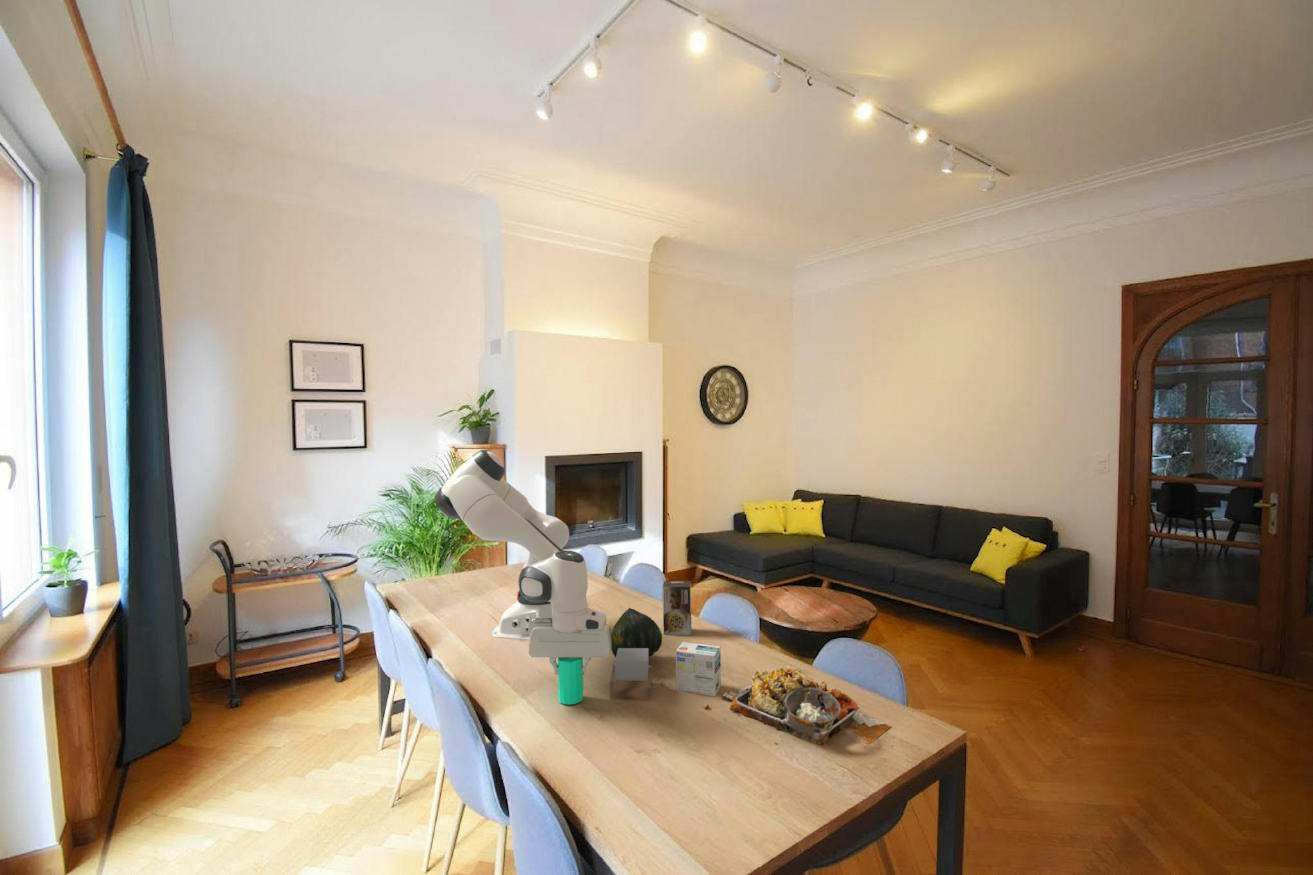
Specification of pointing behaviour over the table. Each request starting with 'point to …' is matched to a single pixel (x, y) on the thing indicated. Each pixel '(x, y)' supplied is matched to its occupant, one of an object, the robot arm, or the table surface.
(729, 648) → the table surface
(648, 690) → the tower base block
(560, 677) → the candle
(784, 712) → the food tray
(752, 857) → the table surface
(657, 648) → the squash
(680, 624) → the coffee box
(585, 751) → the table surface
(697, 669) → the light bulb box
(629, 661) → the tower top block
